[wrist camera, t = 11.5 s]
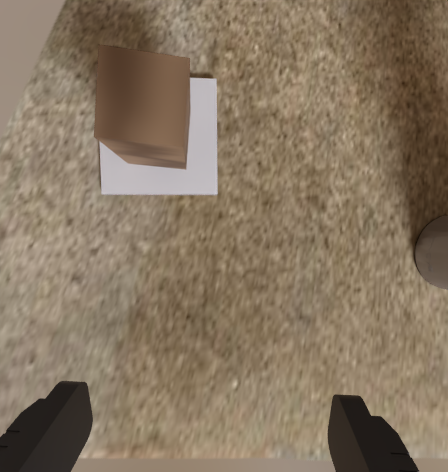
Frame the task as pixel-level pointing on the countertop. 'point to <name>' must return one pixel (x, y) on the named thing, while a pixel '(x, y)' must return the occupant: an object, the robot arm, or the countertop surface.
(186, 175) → the ceramic tile
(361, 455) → the robot arm
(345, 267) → the countertop surface
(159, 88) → the walnut block
